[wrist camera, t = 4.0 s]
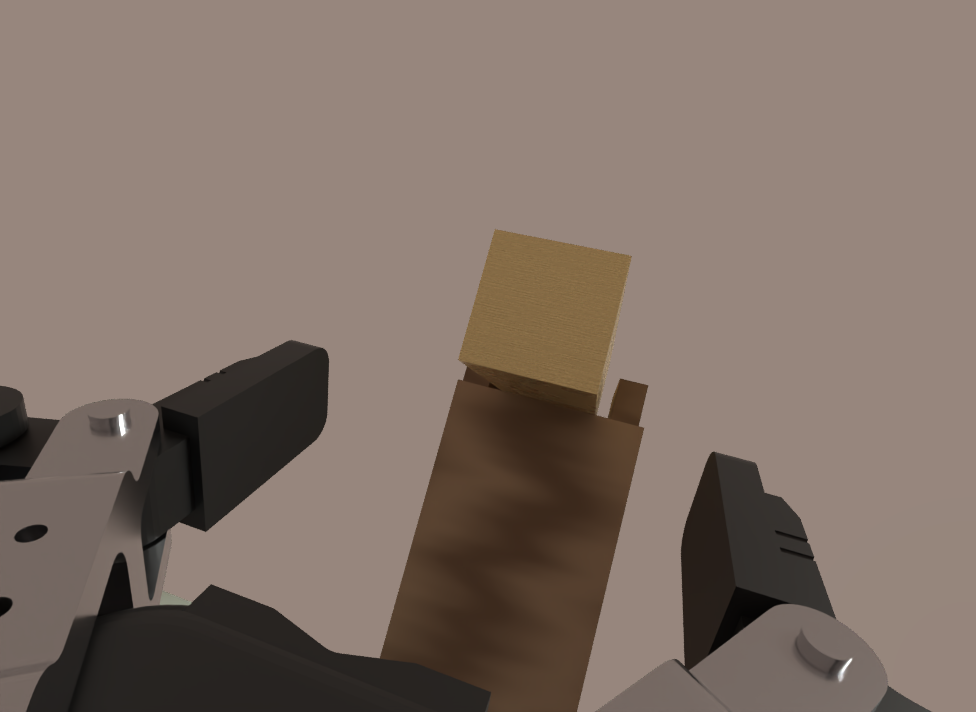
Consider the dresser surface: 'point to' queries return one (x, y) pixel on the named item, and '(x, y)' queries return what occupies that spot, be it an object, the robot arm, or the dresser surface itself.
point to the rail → (546, 319)
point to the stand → (517, 544)
